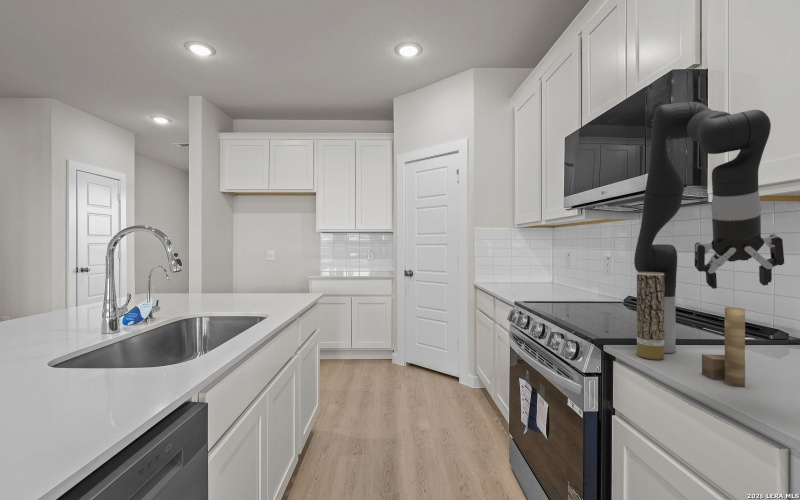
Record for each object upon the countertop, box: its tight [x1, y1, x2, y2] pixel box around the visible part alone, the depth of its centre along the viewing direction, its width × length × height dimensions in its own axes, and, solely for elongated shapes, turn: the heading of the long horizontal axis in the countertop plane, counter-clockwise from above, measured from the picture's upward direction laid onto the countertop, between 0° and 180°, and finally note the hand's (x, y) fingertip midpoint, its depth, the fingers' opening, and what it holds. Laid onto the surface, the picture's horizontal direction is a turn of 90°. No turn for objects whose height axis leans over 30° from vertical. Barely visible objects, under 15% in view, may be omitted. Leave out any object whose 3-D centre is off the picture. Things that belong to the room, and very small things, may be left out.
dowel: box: [724, 306, 746, 388], centre depth 90 cm, size 4×4×18 cm
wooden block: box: [701, 353, 725, 381], centre depth 95 cm, size 7×4×5 cm, turn 80°
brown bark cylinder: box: [636, 271, 665, 361], centre depth 113 cm, size 7×7×25 cm
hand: (737, 285), depth 82 cm, fingers open, 8 cm apart
